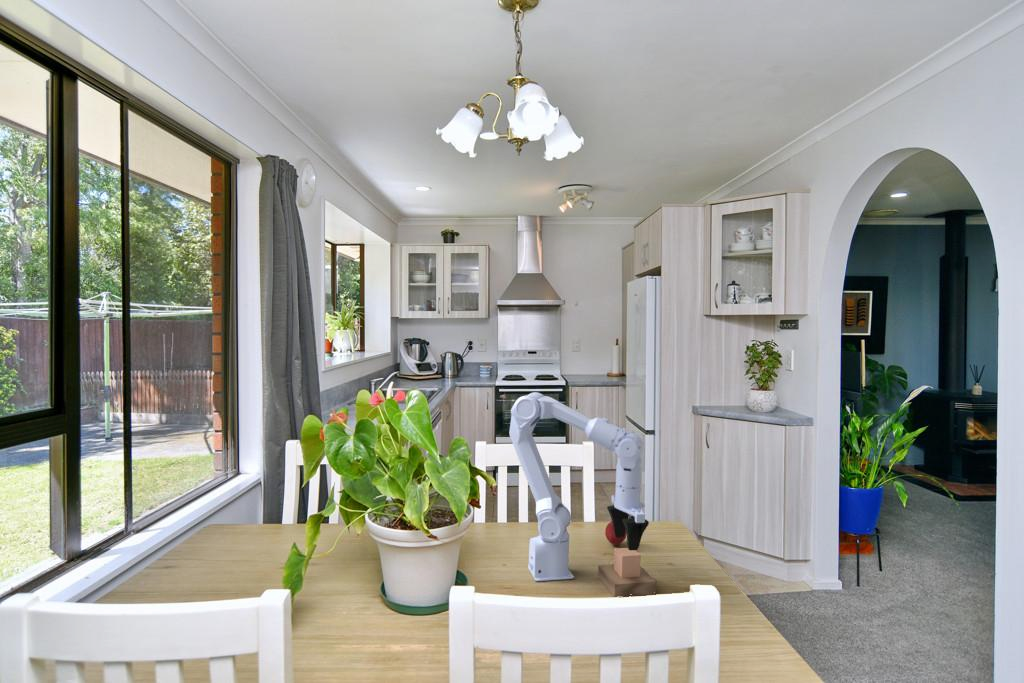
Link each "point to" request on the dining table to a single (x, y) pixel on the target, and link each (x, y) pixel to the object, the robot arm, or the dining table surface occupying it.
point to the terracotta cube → (627, 562)
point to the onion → (613, 535)
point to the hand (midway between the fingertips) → (626, 543)
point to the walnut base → (626, 582)
